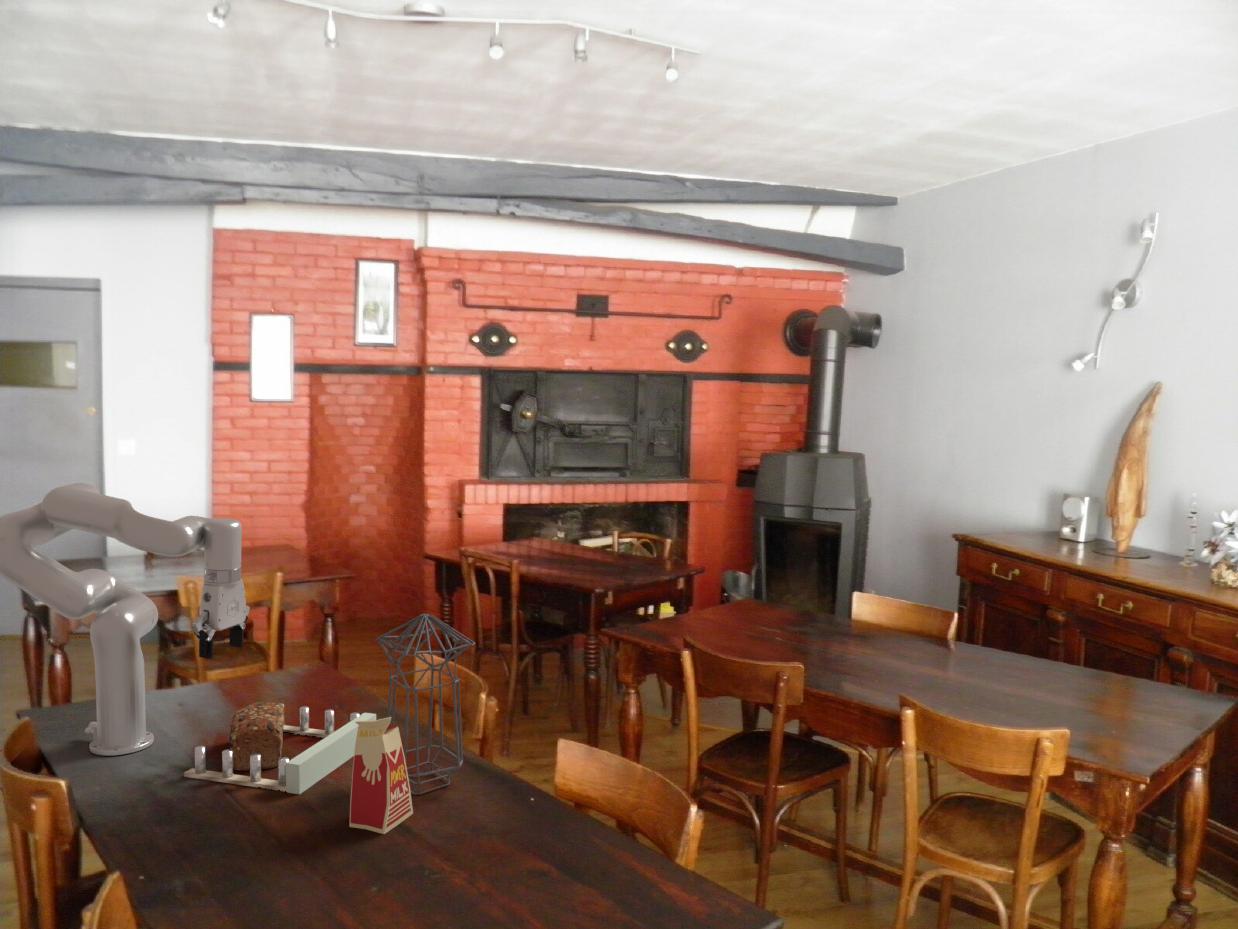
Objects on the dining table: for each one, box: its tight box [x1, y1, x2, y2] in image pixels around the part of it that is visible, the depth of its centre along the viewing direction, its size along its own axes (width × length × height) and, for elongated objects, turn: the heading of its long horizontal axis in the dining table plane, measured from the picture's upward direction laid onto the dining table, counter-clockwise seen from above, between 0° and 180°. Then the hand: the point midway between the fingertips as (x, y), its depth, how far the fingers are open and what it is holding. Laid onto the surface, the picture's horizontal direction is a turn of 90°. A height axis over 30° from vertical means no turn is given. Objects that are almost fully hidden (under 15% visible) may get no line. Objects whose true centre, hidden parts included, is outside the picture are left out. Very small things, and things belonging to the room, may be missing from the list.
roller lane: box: [183, 702, 377, 795], centre depth 205 cm, size 27×30×6 cm
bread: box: [228, 701, 285, 772], centre depth 206 cm, size 19×11×10 cm, turn 17°
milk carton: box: [348, 716, 414, 835], centre depth 176 cm, size 9×9×20 cm
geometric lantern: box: [374, 613, 476, 796], centre depth 192 cm, size 16×16×35 cm
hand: (221, 652), depth 210 cm, fingers open, 9 cm apart
